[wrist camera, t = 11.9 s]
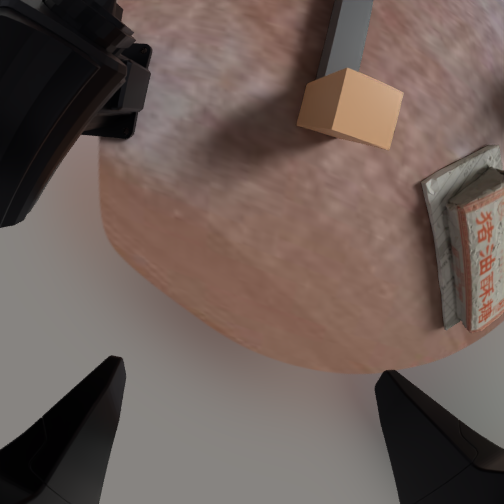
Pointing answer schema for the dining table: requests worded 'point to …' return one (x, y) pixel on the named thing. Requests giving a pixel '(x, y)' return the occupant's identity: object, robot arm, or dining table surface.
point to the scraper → (349, 85)
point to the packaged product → (469, 237)
